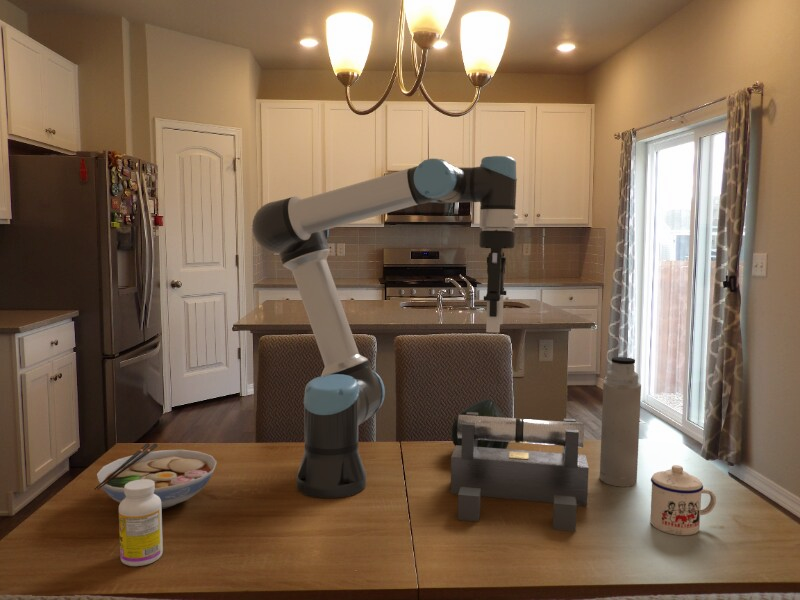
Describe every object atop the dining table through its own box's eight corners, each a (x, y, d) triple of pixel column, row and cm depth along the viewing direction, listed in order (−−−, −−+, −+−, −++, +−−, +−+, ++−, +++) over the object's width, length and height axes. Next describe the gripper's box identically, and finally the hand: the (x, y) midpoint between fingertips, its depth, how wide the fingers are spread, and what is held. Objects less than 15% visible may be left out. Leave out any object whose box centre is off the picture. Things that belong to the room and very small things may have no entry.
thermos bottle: (596, 473, 150) (601, 354, 147) (631, 474, 149) (636, 355, 146) (603, 485, 142) (608, 360, 139) (640, 487, 141) (646, 361, 139)
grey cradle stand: (449, 495, 136) (451, 423, 134) (455, 478, 145) (456, 411, 144) (587, 507, 130) (590, 433, 129) (583, 489, 140) (586, 419, 138)
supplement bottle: (128, 549, 111) (125, 476, 110) (167, 548, 111) (165, 476, 110) (114, 568, 104) (111, 492, 103) (156, 567, 105) (154, 491, 104)
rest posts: (457, 519, 124) (458, 494, 123) (460, 511, 128) (460, 486, 127) (575, 531, 119) (576, 505, 119) (574, 522, 123) (575, 497, 123)
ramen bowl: (191, 532, 117) (190, 489, 116) (69, 528, 118) (68, 485, 118) (233, 481, 142) (233, 445, 141) (133, 478, 143) (132, 442, 143)
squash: (433, 437, 158) (473, 396, 154) (451, 423, 172) (489, 385, 167) (473, 481, 155) (516, 440, 150) (489, 464, 168) (529, 426, 164)
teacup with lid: (659, 536, 118) (662, 474, 117) (641, 515, 127) (644, 458, 126) (725, 537, 118) (729, 475, 117) (702, 516, 127) (706, 458, 126)
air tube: (457, 441, 137) (457, 417, 137) (459, 434, 142) (460, 412, 142) (583, 450, 132) (584, 426, 131) (581, 443, 137) (582, 420, 136)
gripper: (513, 229, 125) (510, 336, 127) (516, 231, 150) (514, 321, 152) (474, 228, 127) (472, 335, 129) (484, 230, 151) (482, 320, 153)
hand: (494, 328), depth 140 cm, fingers open, 13 cm apart
